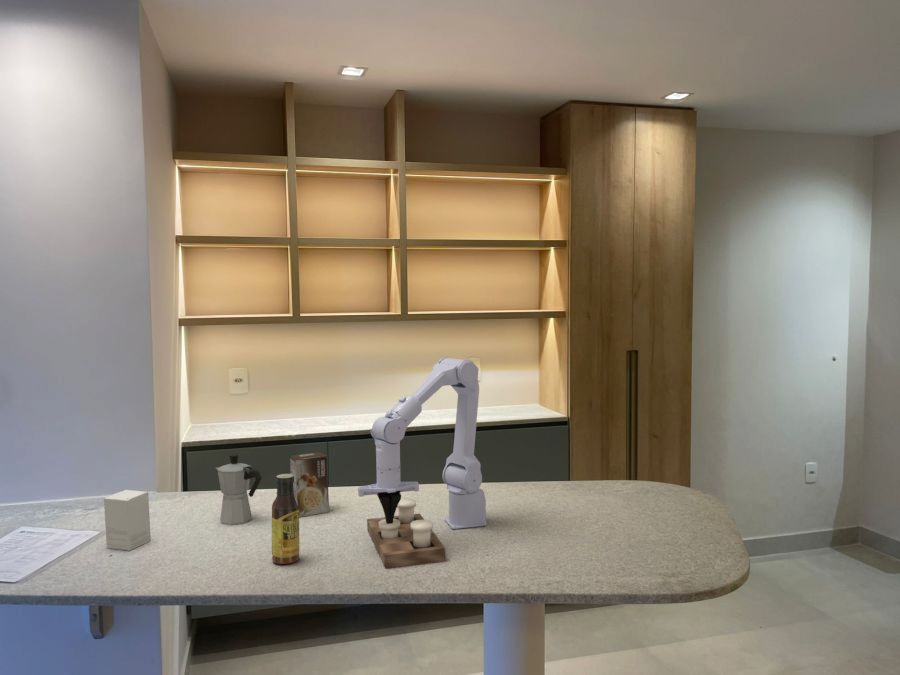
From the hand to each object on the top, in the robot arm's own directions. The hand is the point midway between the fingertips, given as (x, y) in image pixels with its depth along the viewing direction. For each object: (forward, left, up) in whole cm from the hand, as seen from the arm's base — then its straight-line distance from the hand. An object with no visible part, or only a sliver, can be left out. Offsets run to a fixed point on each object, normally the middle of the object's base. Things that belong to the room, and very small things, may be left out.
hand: (389, 522), depth 166 cm
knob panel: (-4, 0, -6) cm, 7 cm away
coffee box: (+16, -32, -6) cm, 37 cm away
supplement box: (+61, -21, -6) cm, 65 cm away
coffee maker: (+35, -31, -6) cm, 48 cm away
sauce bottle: (+24, +1, -6) cm, 25 cm away
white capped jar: (-6, -9, -3) cm, 11 cm away
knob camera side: (-6, +8, -3) cm, 11 cm away
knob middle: (0, 0, -5) cm, 5 cm away
